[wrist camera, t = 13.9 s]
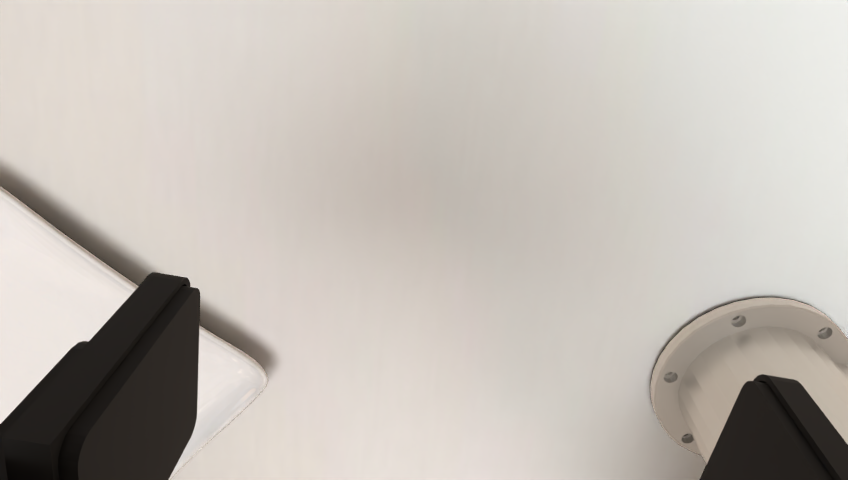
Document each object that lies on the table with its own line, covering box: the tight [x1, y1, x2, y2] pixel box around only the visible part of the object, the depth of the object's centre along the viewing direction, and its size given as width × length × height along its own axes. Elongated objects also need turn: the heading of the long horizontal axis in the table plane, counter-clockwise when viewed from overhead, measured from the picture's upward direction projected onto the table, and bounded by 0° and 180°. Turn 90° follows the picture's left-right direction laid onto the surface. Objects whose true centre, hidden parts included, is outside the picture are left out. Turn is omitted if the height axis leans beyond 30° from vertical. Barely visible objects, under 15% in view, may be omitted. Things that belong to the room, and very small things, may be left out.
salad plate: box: [0, 186, 268, 480], centre depth 43 cm, size 21×21×3 cm
